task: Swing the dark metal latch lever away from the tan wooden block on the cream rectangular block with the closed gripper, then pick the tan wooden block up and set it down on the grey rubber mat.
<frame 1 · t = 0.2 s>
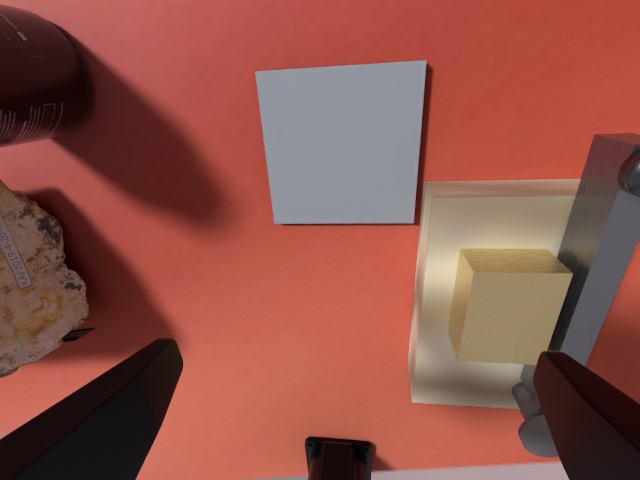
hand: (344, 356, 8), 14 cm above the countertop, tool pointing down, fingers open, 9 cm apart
supplement bottle: (45, 76, 20), on the countertop
tan wooden block: (492, 293, 19), point 3 cm above the countertop, touching cream rectangular block
cream rectangular block: (487, 291, 23), on the countertop
latch lever: (582, 297, 17), point 5 cm above the countertop, hinge at 0.0°
rubber mat: (340, 150, 20), on the countertop
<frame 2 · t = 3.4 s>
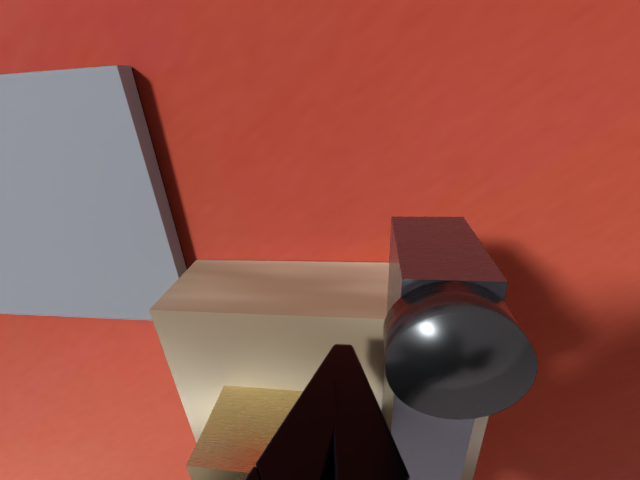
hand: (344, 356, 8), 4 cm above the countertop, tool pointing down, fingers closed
tan wooden block: (299, 448, 12), point 3 cm above the countertop, touching cream rectangular block
cream rectangular block: (336, 411, 15), on the countertop
rubber mat: (58, 211, 12), on the countertop
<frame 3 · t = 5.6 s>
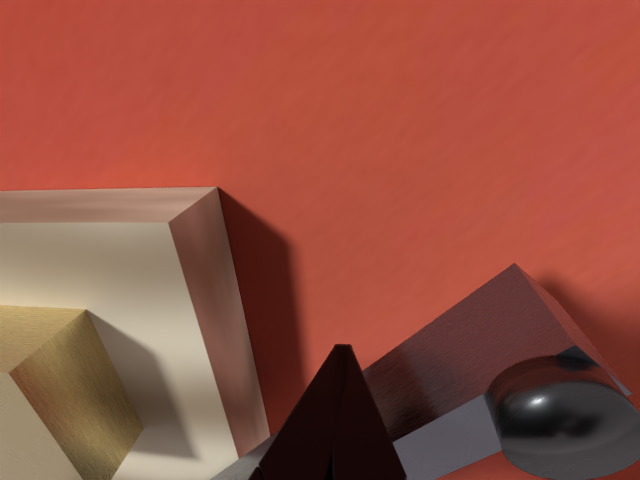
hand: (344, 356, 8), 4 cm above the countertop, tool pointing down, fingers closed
tan wooden block: (64, 371, 12), point 3 cm above the countertop, touching cream rectangular block
cream rectangular block: (152, 351, 15), on the countertop
latch lever: (317, 475, 9), point 5 cm above the countertop, hinge at -42.3°, touching gripper
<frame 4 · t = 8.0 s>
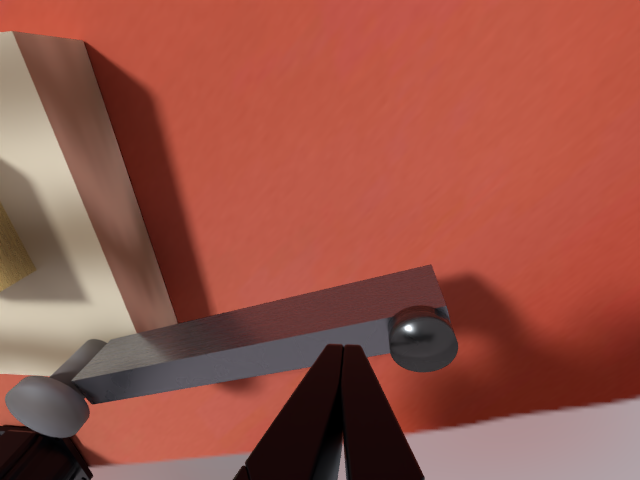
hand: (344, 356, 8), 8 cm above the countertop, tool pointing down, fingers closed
cream rectangular block: (57, 224, 17), on the countertop
latch lever: (244, 347, 13), point 5 cm above the countertop, hinge at -74.1°
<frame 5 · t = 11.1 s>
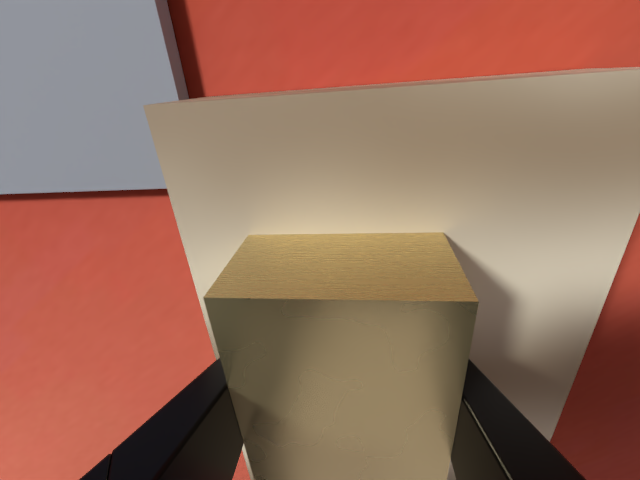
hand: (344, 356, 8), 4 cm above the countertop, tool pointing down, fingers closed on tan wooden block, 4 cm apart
tan wooden block: (346, 333, 9), point 3 cm above the countertop, touching gripper, cream rectangular block
cream rectangular block: (378, 318, 12), on the countertop
rubber mat: (22, 32, 9), on the countertop
when the fingers open (3 cm above the countertop, at t = 15.3 s): tan wooden block drops 1 cm, resting on rubber mat.
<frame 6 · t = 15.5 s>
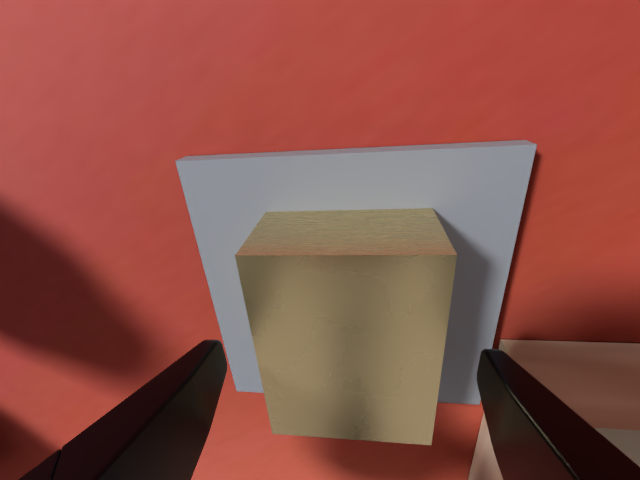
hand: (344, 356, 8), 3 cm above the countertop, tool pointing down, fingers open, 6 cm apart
tan wooden block: (349, 299, 10), point 1 cm above the countertop, touching rubber mat
rubber mat: (348, 288, 11), on the countertop
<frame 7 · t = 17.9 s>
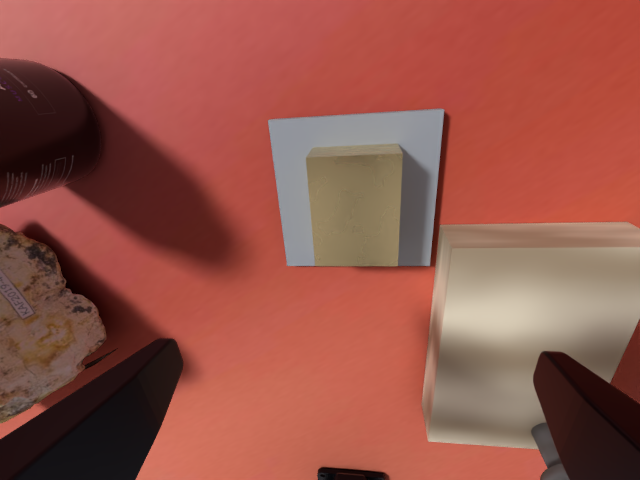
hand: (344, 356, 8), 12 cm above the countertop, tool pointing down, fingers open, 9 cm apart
supplement bottle: (54, 123, 20), on the countertop
tan wooden block: (355, 198, 19), point 1 cm above the countertop, touching rubber mat
cream rectangular block: (505, 330, 22), on the countertop
rubber mat: (355, 195, 19), on the countertop
petrified wood: (12, 310, 28), on the countertop
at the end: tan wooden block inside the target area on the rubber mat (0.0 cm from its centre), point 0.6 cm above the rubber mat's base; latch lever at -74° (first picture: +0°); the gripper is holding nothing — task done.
